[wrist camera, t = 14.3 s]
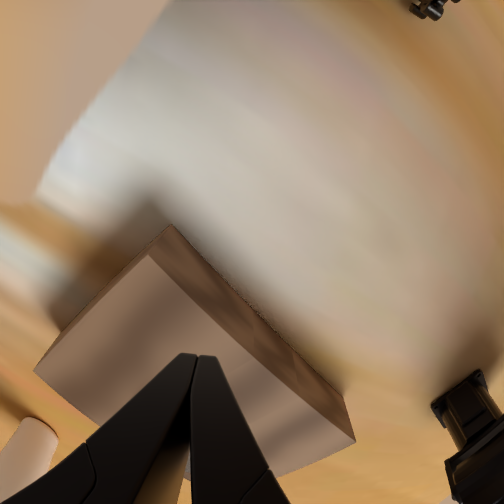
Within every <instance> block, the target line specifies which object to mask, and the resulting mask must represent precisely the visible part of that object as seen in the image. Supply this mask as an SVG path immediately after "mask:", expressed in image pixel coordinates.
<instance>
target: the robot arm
mask: <svg viewBox="0 0 504 504" xmlns="http://www.w3.org/2000/svg"><path fill="white" fill-rule="evenodd" d="M431 409H432V411H433V412H434V414H435V415H436V417H437V418H438V420H439V421H440V423H441V425H442V426H443V428H447V429H448V431H449V433H450V435H451V437H452V439H453V441H454V443H455V445H456V447H457V449H458V451H459V452H457V453H456V454H455V455H453V456H452V457H451V458H448V459H447V460H445V461H444V463H445V466H446V467H445V470H446V473H447V477H448V481H449V485H450V489H451V495H452V499H453V500H454V501H457V502H458V503H459V504H504V414H502V412H501V411H500V409H499V408H498V406H497V405H496V403H495V402H494V400H493V399H492V397H491V396H490V395H489V392H488V389H487V385H486V382H485V378H484V375H483V372H482V371H481V370H480V369H479V370H477V371H475V372H474V373H473V374H472V375H471V376H469V377H468V378H467V379H465V380H464V381H463V382H462V383H460V384H459V385H458V386H456V387H455V388H454V389H452V390H451V391H450V392H448V393H447V394H445V395H444V396H443V397H441V398H440V399H438V400H437V401H436V402H434V403H433V404H432V405H431ZM189 453H190V472H191V497H192V504H291V503H290V502H289V500H288V498H287V497H286V495H285V493H284V492H283V490H282V488H281V487H280V485H279V483H278V481H277V480H276V478H275V476H274V474H273V472H272V470H270V469H269V465H268V463H267V461H266V459H265V457H264V455H263V453H262V451H261V449H260V447H259V445H258V443H257V441H256V439H255V437H254V435H253V433H252V431H251V429H250V427H249V425H248V423H247V421H246V419H245V417H244V415H243V413H242V411H241V408H240V406H239V404H238V402H237V400H236V398H235V396H234V394H233V391H232V389H231V387H230V385H229V383H228V380H227V378H226V376H225V374H224V371H223V369H222V367H221V365H220V362H219V360H218V358H217V357H216V356H211V355H199V357H198V356H197V355H196V354H191V353H179V354H178V355H177V356H176V357H175V358H174V359H173V360H172V361H171V362H170V363H169V364H167V365H166V366H165V367H164V368H163V369H162V370H161V371H160V372H159V373H158V374H157V375H156V376H155V377H154V378H153V379H152V380H151V381H149V382H148V383H147V384H146V385H145V386H144V387H143V388H142V389H141V390H140V391H139V392H138V393H137V394H136V395H134V396H133V397H132V398H131V399H130V400H129V401H128V402H127V403H126V404H125V405H124V406H123V407H122V408H120V409H119V410H118V411H117V412H116V413H115V414H114V415H113V416H112V417H111V418H110V419H109V420H107V421H106V422H105V423H104V424H103V425H102V426H101V427H100V428H99V429H98V430H97V431H95V432H94V433H93V434H92V435H91V436H90V437H89V438H88V439H87V440H86V443H82V444H81V445H80V446H79V447H78V448H76V449H75V450H74V451H73V452H72V453H71V454H70V455H68V456H67V457H66V458H65V459H64V460H62V461H61V462H60V463H59V464H58V465H56V466H55V467H54V468H53V469H51V470H50V471H48V472H47V473H46V474H44V475H43V476H41V477H40V478H38V479H37V480H36V481H34V482H33V483H31V484H30V485H28V486H26V487H25V488H23V489H22V490H20V491H19V492H17V493H16V494H14V495H12V496H11V497H9V498H8V499H6V500H4V501H3V502H1V503H0V504H177V501H178V497H179V493H180V489H181V485H182V481H183V477H184V473H185V469H186V465H187V461H188V457H189Z"/></svg>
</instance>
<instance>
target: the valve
mask: <svg viewBox="0 0 504 504" xmlns="http://www.w3.org/2000/svg"><path fill="white" fill-rule="evenodd" d="M419 1H420V2H421V3H420V4H419V5H418V6H417V5H416V4H414V3H411V5H410V7H409V11H410V12H411V13H413V14H414V15H416V16H417V17H419V18H420V19H425V18H426V17H427V16H428V17H429V18H431V19H432V20H434V21H437V20H439V19H440V18H441V16H442V14H443V11H444V9H443V5H444V4H445V3H446V2H447V1H448V0H419ZM451 1H452V2H454V3H458V2H459V1H460V0H451Z"/></svg>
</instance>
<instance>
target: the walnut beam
mask: <svg viewBox="0 0 504 504" xmlns="http://www.w3.org/2000/svg"><path fill="white" fill-rule="evenodd" d="M179 353H191V354H196V355H197V356H198V357H199V355H211V356H216V357H217V358H218V360H219V362H220V365H221V367H222V369H223V371H224V374H225V376H226V378H227V380H228V383H229V385H230V387H231V389H232V391H233V394H234V396H235V398H236V400H237V402H238V404H239V406H240V408H241V411H242V413H243V415H244V417H245V419H246V421H247V423H248V425H249V427H250V429H251V431H252V433H253V435H254V437H255V439H256V441H257V443H258V445H259V447H260V449H261V451H262V453H263V455H264V457H265V459H266V461H267V463H268V465H269V469H270V470H272V472H273V474H274V476H275V478H277V477H280V476H283V475H285V474H288V473H290V472H293V471H295V470H298V469H300V468H303V467H305V466H307V465H310V464H312V463H314V462H317V461H319V460H321V459H323V458H325V457H328V456H330V455H332V454H334V453H336V452H338V451H340V450H342V449H344V448H346V447H348V446H350V445H352V444H354V443H356V439H355V436H354V432H353V429H352V426H351V422H350V419H349V416H348V412H347V409H346V406H345V402H344V399H343V398H342V397H341V396H340V395H339V394H338V393H337V392H336V391H335V390H334V389H333V388H332V387H331V386H330V385H329V384H328V383H327V382H326V381H325V380H324V379H323V378H321V377H320V376H319V375H318V374H317V373H316V372H315V371H314V370H313V369H312V368H311V367H310V366H309V365H308V364H307V363H306V362H305V361H304V360H303V359H302V358H301V357H300V356H299V355H298V354H297V353H296V352H295V351H294V350H293V349H292V348H291V347H290V346H289V345H288V344H287V343H286V342H285V341H284V340H283V339H282V338H281V337H280V336H279V335H278V334H277V333H276V332H275V331H274V330H273V329H272V328H271V327H270V326H269V325H268V324H267V323H266V322H265V321H264V320H263V319H262V318H261V317H260V316H259V315H258V314H257V313H256V312H255V311H254V310H253V309H252V308H251V307H250V306H249V305H248V304H247V303H246V302H245V301H244V300H243V299H242V298H241V297H240V296H239V295H238V294H237V293H236V292H235V291H234V290H233V289H232V288H231V287H230V286H229V285H228V284H227V283H226V282H225V281H224V279H223V278H222V277H221V276H220V275H219V274H218V273H217V272H216V271H215V270H214V269H213V268H212V267H211V266H210V265H209V264H208V263H207V262H206V261H205V260H204V258H203V257H202V256H201V255H200V254H199V253H198V252H197V251H196V250H195V249H194V248H193V247H192V246H191V245H190V244H189V242H188V241H187V240H186V239H185V238H184V237H183V236H182V235H181V234H180V233H179V232H178V231H177V230H176V228H175V227H174V226H173V225H172V224H170V225H169V226H168V227H167V228H166V229H165V230H164V231H163V232H162V233H161V234H159V235H158V236H157V237H156V238H155V239H154V240H153V241H152V242H151V243H150V244H149V245H148V246H147V247H146V248H144V249H143V250H142V251H141V252H140V253H139V254H138V255H137V256H136V257H135V258H134V259H133V260H132V261H131V262H130V263H129V264H128V265H127V266H126V267H125V268H124V269H123V270H122V271H120V272H119V273H118V274H117V275H116V276H115V277H114V278H113V279H112V280H111V281H110V282H109V283H108V284H107V285H106V286H105V287H104V288H103V289H102V290H101V291H100V292H99V293H98V294H97V295H96V296H95V297H94V298H93V299H92V301H91V302H90V303H89V304H88V305H87V306H86V307H85V308H84V309H83V310H82V311H81V312H80V313H79V314H78V315H77V316H76V317H75V318H74V319H73V320H72V321H71V322H70V323H69V325H68V326H67V327H66V328H65V329H64V330H63V331H62V332H61V333H60V335H59V336H58V337H57V338H56V340H55V341H54V342H53V344H52V345H51V346H50V348H49V349H48V350H47V352H46V353H45V354H44V356H43V357H42V359H41V360H40V361H39V363H38V364H37V365H36V367H35V368H34V370H33V371H34V372H35V373H36V374H37V375H38V376H39V377H40V378H41V379H42V380H43V381H44V382H45V383H47V384H48V385H49V386H50V387H51V388H52V389H53V390H55V391H56V392H57V393H58V394H59V395H60V396H62V397H63V398H64V399H65V400H66V401H68V402H69V403H70V404H71V405H73V406H74V407H75V408H76V409H78V410H79V411H80V412H81V413H83V414H84V415H85V416H87V417H88V418H89V419H91V420H92V421H93V422H95V423H96V424H97V425H99V426H100V427H101V426H102V425H103V424H104V423H105V422H106V421H107V420H109V419H110V418H111V417H112V416H113V415H114V414H115V413H116V412H117V411H118V410H119V409H120V408H122V407H123V406H124V405H125V404H126V403H127V402H128V401H129V400H130V399H131V398H132V397H133V396H134V395H136V394H137V393H138V392H139V391H140V390H141V389H142V388H143V387H144V386H145V385H146V384H147V383H148V382H149V381H151V380H152V379H153V378H154V377H155V376H156V375H157V374H158V373H159V372H160V371H161V370H162V369H163V368H164V367H165V366H166V365H167V364H169V363H170V362H171V361H172V360H173V359H174V358H175V357H176V356H177V355H178V354H179ZM183 478H185V479H187V480H189V481H191V473H189V472H185V473H184V477H183Z"/></svg>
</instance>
